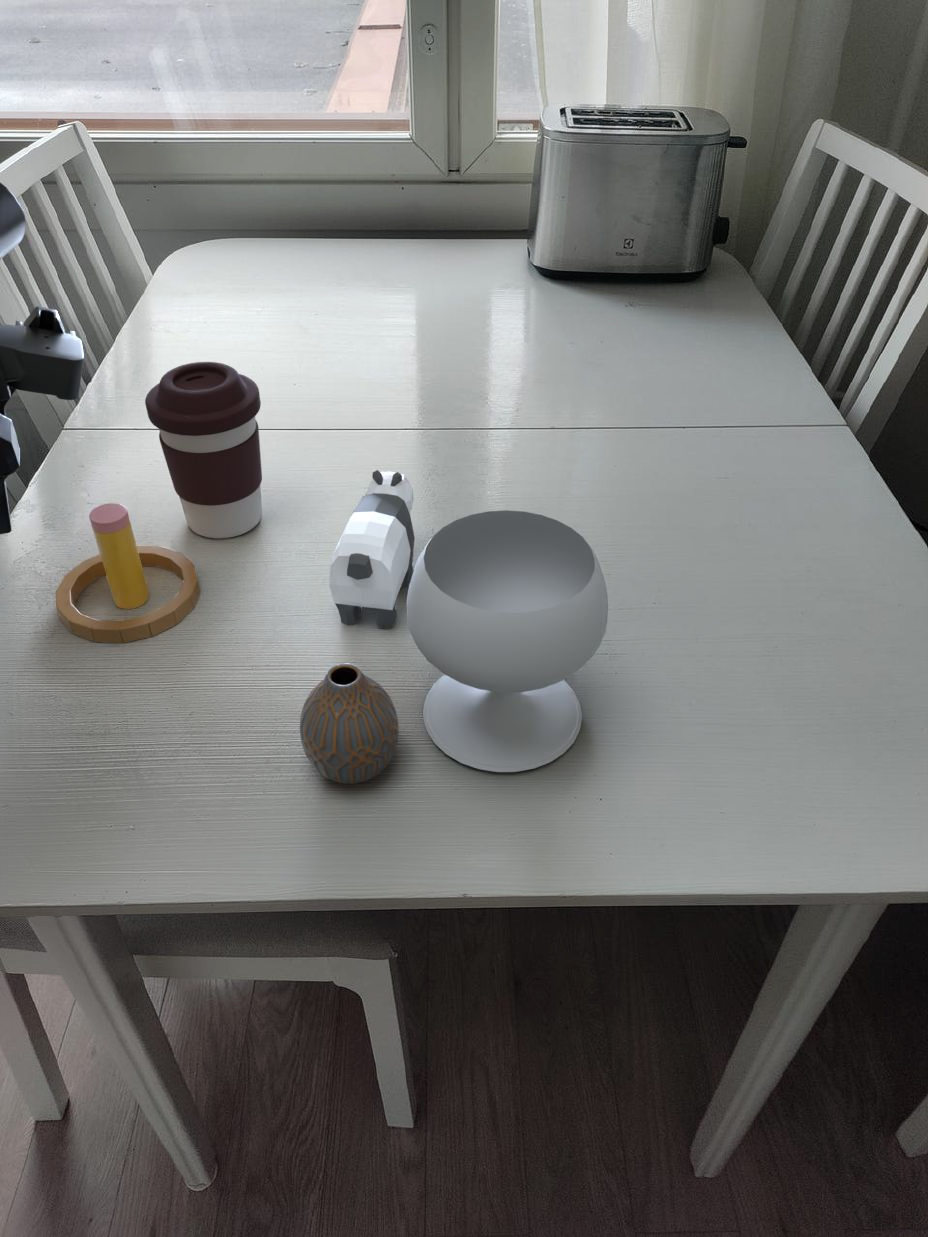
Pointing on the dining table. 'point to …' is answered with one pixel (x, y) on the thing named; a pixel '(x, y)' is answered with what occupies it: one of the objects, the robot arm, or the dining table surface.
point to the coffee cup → (211, 445)
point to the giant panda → (375, 551)
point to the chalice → (506, 635)
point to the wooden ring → (134, 626)
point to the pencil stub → (119, 555)
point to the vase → (348, 726)
